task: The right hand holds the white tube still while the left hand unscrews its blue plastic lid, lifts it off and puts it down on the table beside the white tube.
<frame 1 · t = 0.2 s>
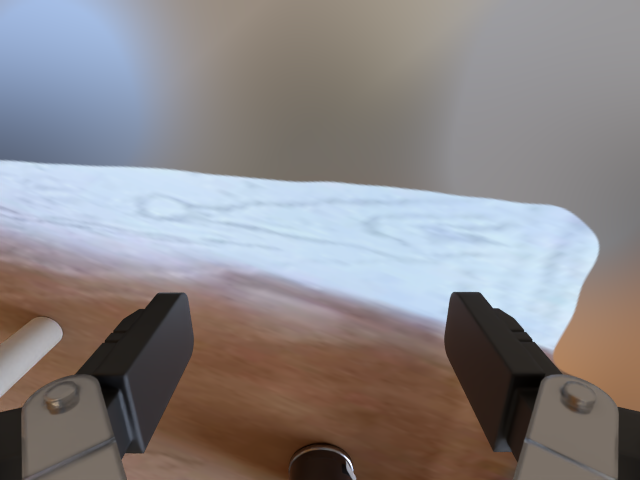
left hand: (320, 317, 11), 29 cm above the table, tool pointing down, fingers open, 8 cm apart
white tube: (46, 330, 46), on the table
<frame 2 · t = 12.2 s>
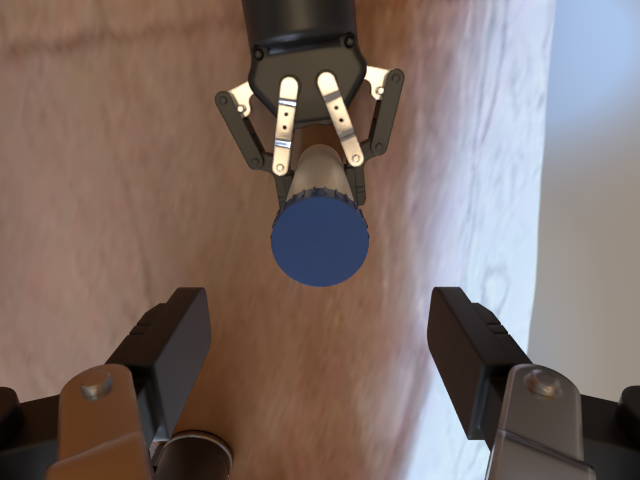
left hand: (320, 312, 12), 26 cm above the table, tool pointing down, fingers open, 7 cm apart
right hand: (324, 212, 30), fingers closed on white tube, 4 cm apart
white tube: (320, 166, 35), on the table, touching right hand
lid: (320, 241, 17), point 20 cm above the table, screwed on, not yet turned
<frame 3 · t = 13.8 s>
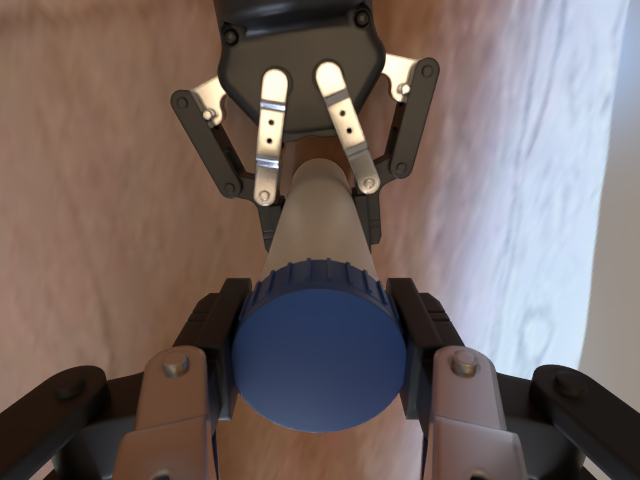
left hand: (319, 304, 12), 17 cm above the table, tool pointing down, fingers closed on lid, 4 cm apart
right hand: (325, 252, 23), fingers closed on white tube, 4 cm apart
white tube: (319, 185, 28), on the table, touching right hand
lid: (319, 358, 10), point 20 cm above the table, screwed on, not yet turned, touching left hand
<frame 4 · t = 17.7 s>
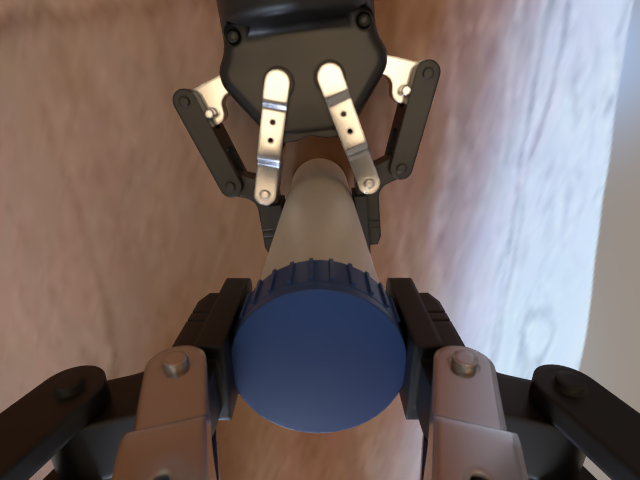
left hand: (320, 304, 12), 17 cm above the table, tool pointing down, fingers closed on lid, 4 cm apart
right hand: (324, 252, 23), fingers closed on white tube, 4 cm apart
white tube: (319, 185, 28), on the table, touching right hand
lid: (318, 358, 10), point 20 cm above the table, turned 92° so far, risen 0.1 cm, still on its thread, touching left hand
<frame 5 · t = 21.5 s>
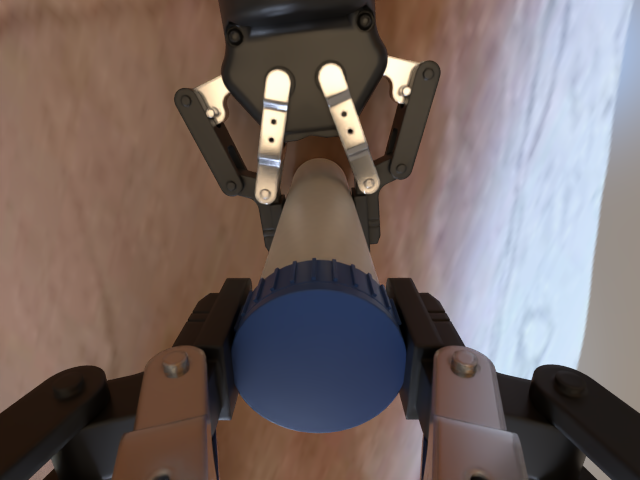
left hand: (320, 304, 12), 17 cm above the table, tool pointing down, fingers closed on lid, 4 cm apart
right hand: (324, 251, 23), fingers closed on white tube, 4 cm apart
white tube: (319, 185, 28), on the table, touching right hand
lid: (318, 358, 10), point 20 cm above the table, turned 184° so far, risen 0.2 cm, still on its thread, touching left hand
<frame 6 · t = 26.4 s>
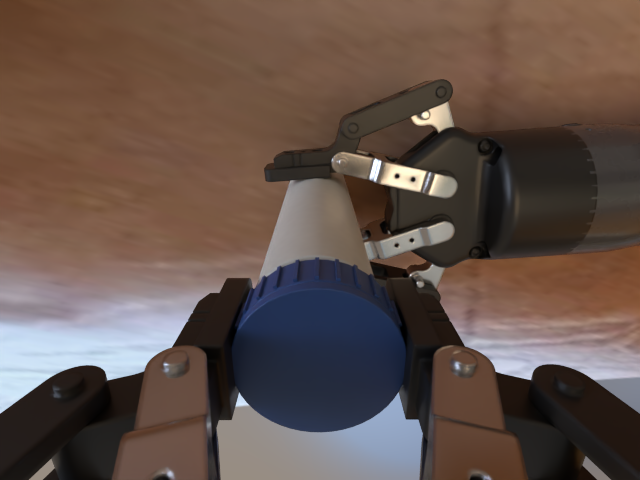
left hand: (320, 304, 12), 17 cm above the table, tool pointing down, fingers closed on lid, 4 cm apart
right hand: (272, 211, 23), fingers closed on white tube, 4 cm apart
white tube: (317, 183, 28), on the table, touching right hand
lid: (318, 357, 10), point 20 cm above the table, off its thread, touching left hand
when the left hand's fingers open (0 cm above the table, at t = 32.0 s): lid drops 2 cm, point 1 cm above the table.
when the right hand's fingers open (6 cm above the table, at t = 33.1 s): white tube stays where it is, on the table.
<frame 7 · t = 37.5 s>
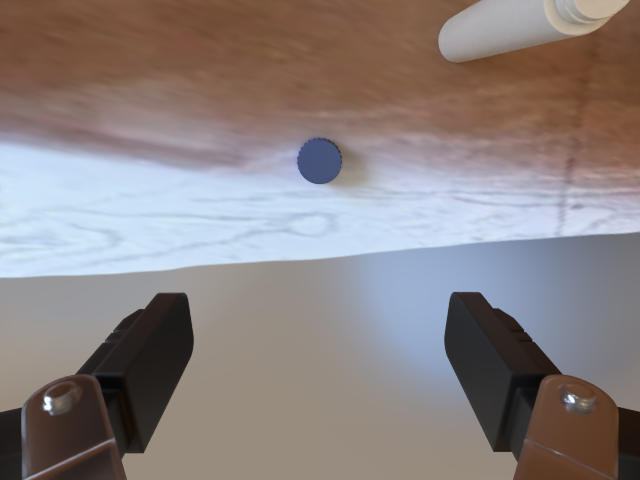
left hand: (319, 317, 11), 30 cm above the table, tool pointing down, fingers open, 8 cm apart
white tube: (459, 39, 35), on the table
lid: (319, 162, 38), point 1 cm above the table, off its thread
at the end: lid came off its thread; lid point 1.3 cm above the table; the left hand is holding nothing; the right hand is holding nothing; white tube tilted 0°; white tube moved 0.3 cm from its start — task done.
